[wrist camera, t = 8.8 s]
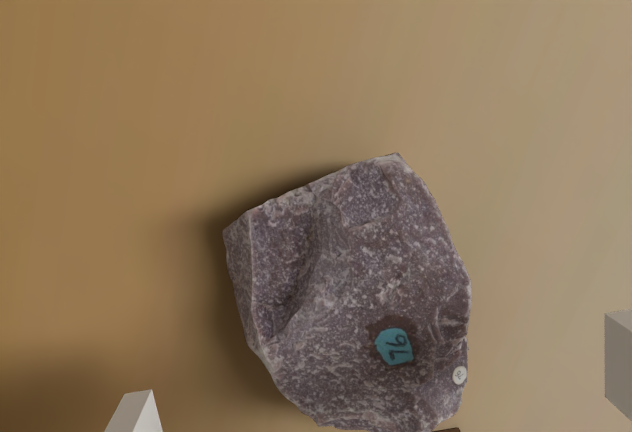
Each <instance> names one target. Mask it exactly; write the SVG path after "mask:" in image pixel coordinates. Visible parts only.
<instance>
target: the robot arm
mask: <svg viewBox="0 0 632 432" xmlns="http://www.w3.org/2000/svg"><path fill="white" fill-rule="evenodd" d="M605 397H606V398H607V399H608V400H609V401H610V402H611V403H612V404H613V405H615V406H616V407H617V408H618V409H619V410H620V411H621V412H622V413H623V414H624V415H625V416H626V417H627V418H629V419H630V420H631V421H632V310H631V309H628V310H622V311H616V312H610V313H605ZM104 432H163V431H162V427H161V423H160V419H159V415H158V411H157V408H156V404H155V400H154V396H153V392H152V389H150V390H144V391H138V392H132V393H126V394H124V396H123V398H122V399H121V401H120V403H119V405H118V407H117V409H116V411H115V412H114V414H113V416H112V418H111V420H110V422H109V424H108V426H107V427H106V429H105V431H104Z"/></svg>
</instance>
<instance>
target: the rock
mask: <svg viewBox="0 0 632 432" xmlns="http://www.w3.org/2000/svg"><path fill="white" fill-rule="evenodd" d="M222 234H223V240H224V244H225V247H226V252H227V255H226V260H227V270H228V274H229V277H230V278H231V280H232V282H233V290H234V295H235V299H236V304H237V308H238V311H239V315H240V318H241V322H242V325H243V329H244V336H245V339H246V342H247V345H248V346H249V348H250V349H251V350H252V351H253V352H254V353H255V354H256V355H257V356H258V357H259V358H260V359H261V361H262V362H263V364H264V365H265V367H266V368H267V370H268V371H269V373H270V374H271V376H272V380H273V382H274V384H275V386H276V387H277V389H278V390H279V391H280V392H281V393H282V395H283V396H284V397H285V398H287V399H288V400H289V401H291V402H292V403H294V404H296V405H297V407H298V409H299V410H300V411H301V412H302V413H303V414H305V415H308V416H310V417H311V418H312V419H313V420H314V421H315V422H316V423H317V425H318V426H333V427H335V428H337V429H344V430H367V431H371V432H431V431H432V430H433V429H434V428H435V427H436V426H437V425H438V424H439V423H440V422H443V421H445V420H447V419H448V418H450V417H452V416H454V414H455V413H456V412H457V411H458V409H459V407H460V404H461V402H462V392H463V389H464V387H465V385H466V383H467V373H468V350H469V349H468V341H467V338H466V335H467V331H468V324H469V316H470V309H471V301H472V296H471V281H470V277H469V275H468V272H467V270H466V268H465V266H464V263H463V261H462V260H461V258H460V257H459V255H458V253H457V251H456V249H455V247H454V244H453V242H452V239H451V236H450V232H449V229H448V227H447V225H446V223H445V221H444V219H443V217H442V215H441V212H440V210H439V208H438V206H437V203H436V201H435V199H434V198H433V196H432V195H431V193H430V192H429V190H428V188H427V186H426V184H425V183H424V181H423V180H422V179H421V178H420V177H419V176H418V175H417V174H416V173H415V172H414V171H413V170H412V169H411V168H410V167H409V166H408V164H407V163H406V162H405V160H404V159H403V158H402V157H401V156H400V154H399V153H393V154H390V155H385V156H380V157H377V158H372V159H368V160H365V161H361V162H358V163H355V164H352V165H348V166H346V167H344V168H342V169H340V170H338V171H336V172H334V173H331V174H329V175H326V176H324V177H322V178H320V179H318V180H316V181H314V182H311V183H309V184H307V185H305V186H303V187H300V188H297V189H294V190H291V191H289V192H287V193H285V194H283V195H281V196H279V197H278V198H273V199H270V200H268V201H266V202H265V203H264V204H262V205H260V206H258V207H255V208H253V209H250V210H248V211H246V212H245V213H243V214H242V215H241V216H240V217H239V218H238V219H237V220H235V221H234V222H233V223H231V224H230V225H229V226H228V227H227V228H225V229H224V230H223V231H222Z"/></svg>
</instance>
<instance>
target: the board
mask: <svg viewBox="0 0 632 432" xmlns="http://www.w3.org/2000/svg"><path fill="white" fill-rule="evenodd" d="M436 432H460V430H459V428H454V429H448V430H442V431H436Z"/></svg>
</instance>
